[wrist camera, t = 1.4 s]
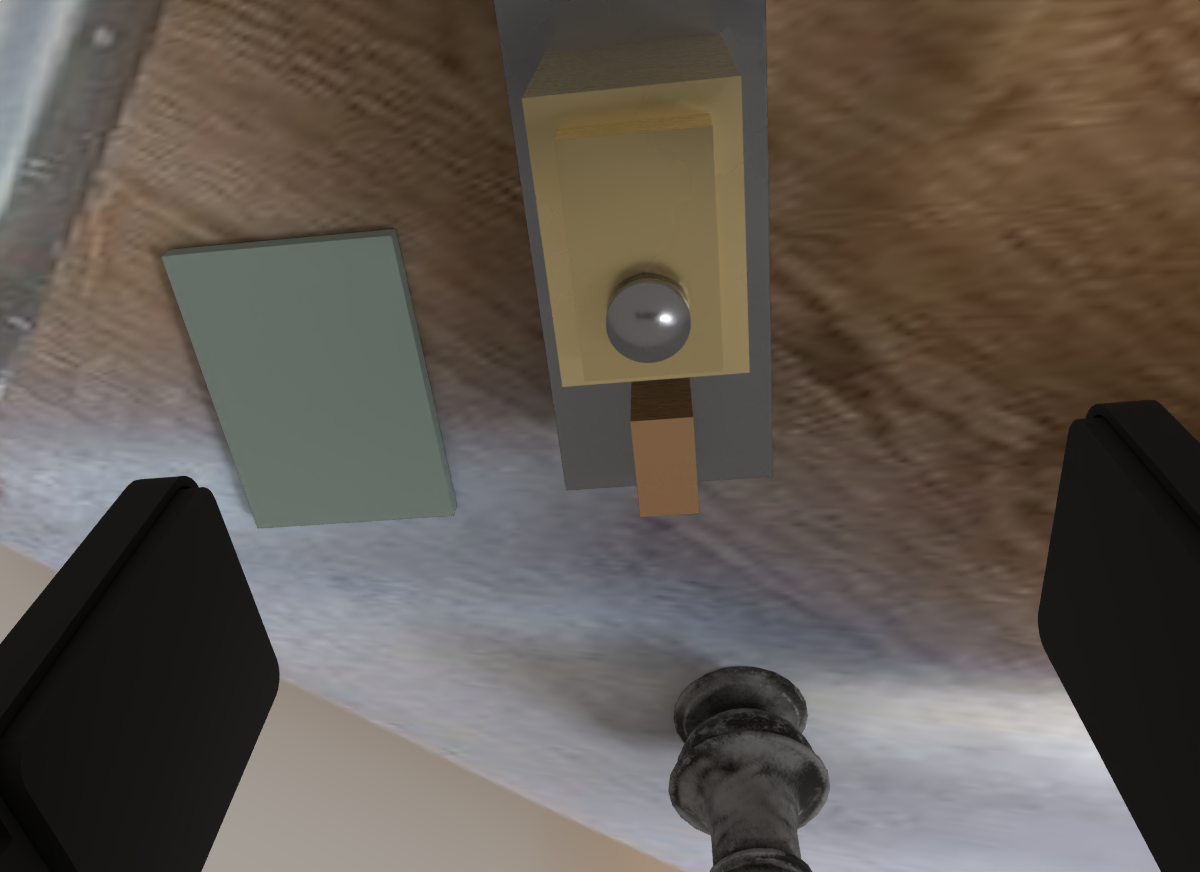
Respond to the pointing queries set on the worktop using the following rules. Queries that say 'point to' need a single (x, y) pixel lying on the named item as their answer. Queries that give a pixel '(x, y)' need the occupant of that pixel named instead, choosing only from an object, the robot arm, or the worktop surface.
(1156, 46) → the worktop surface
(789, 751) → the salt shaker
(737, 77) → the lever cap
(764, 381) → the body
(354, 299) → the mat
